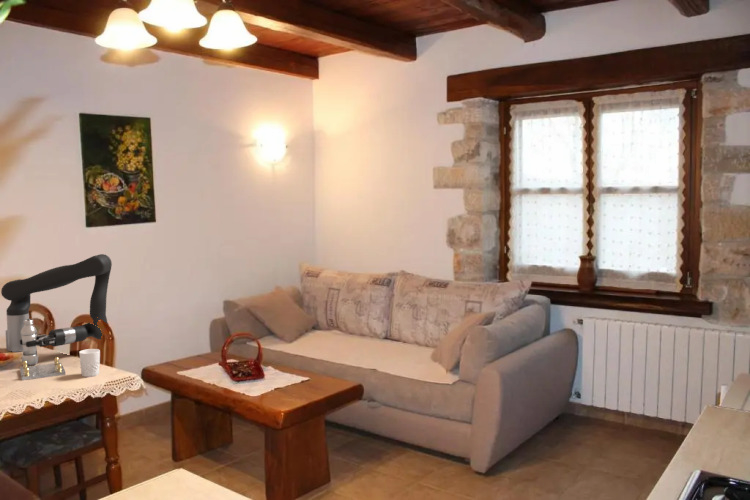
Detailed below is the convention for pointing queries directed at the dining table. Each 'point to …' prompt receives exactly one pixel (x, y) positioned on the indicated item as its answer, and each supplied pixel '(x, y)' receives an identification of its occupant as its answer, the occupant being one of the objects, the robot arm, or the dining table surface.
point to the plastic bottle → (28, 335)
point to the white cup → (89, 362)
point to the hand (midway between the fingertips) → (23, 343)
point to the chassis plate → (41, 370)
